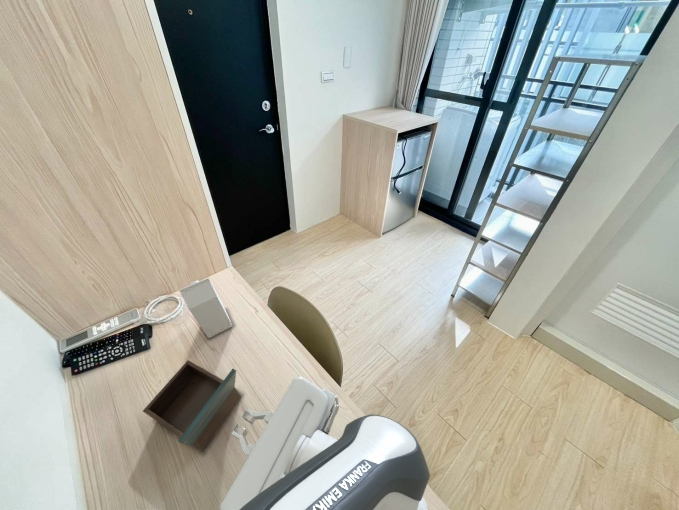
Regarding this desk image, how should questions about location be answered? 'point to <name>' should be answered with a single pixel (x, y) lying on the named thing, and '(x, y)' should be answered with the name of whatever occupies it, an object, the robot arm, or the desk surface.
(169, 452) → the desk surface
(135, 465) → the desk surface
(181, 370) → the tray box
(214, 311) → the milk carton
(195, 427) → the cover
